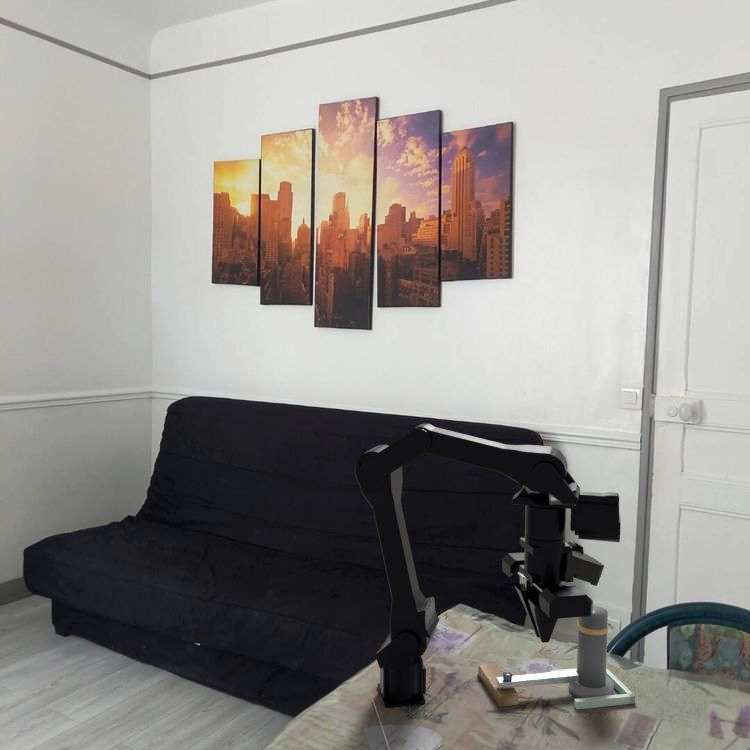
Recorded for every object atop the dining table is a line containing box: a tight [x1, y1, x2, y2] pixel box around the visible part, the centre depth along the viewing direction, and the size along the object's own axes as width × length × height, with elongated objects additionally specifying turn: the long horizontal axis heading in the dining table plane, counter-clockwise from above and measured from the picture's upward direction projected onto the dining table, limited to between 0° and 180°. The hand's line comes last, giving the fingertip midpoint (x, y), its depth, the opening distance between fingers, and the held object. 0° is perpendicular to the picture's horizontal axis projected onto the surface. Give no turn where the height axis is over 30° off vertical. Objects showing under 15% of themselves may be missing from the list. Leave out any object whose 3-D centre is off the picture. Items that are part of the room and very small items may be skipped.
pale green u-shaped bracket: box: [549, 667, 636, 710], centre depth 112 cm, size 10×10×1 cm
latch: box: [496, 670, 579, 689], centre depth 110 cm, size 13×2×2 cm, turn 100°
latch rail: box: [477, 662, 519, 707], centre depth 112 cm, size 3×10×2 cm, turn 10°
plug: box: [568, 605, 615, 699], centre depth 111 cm, size 7×7×13 cm
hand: (542, 639), depth 103 cm, fingers closed
